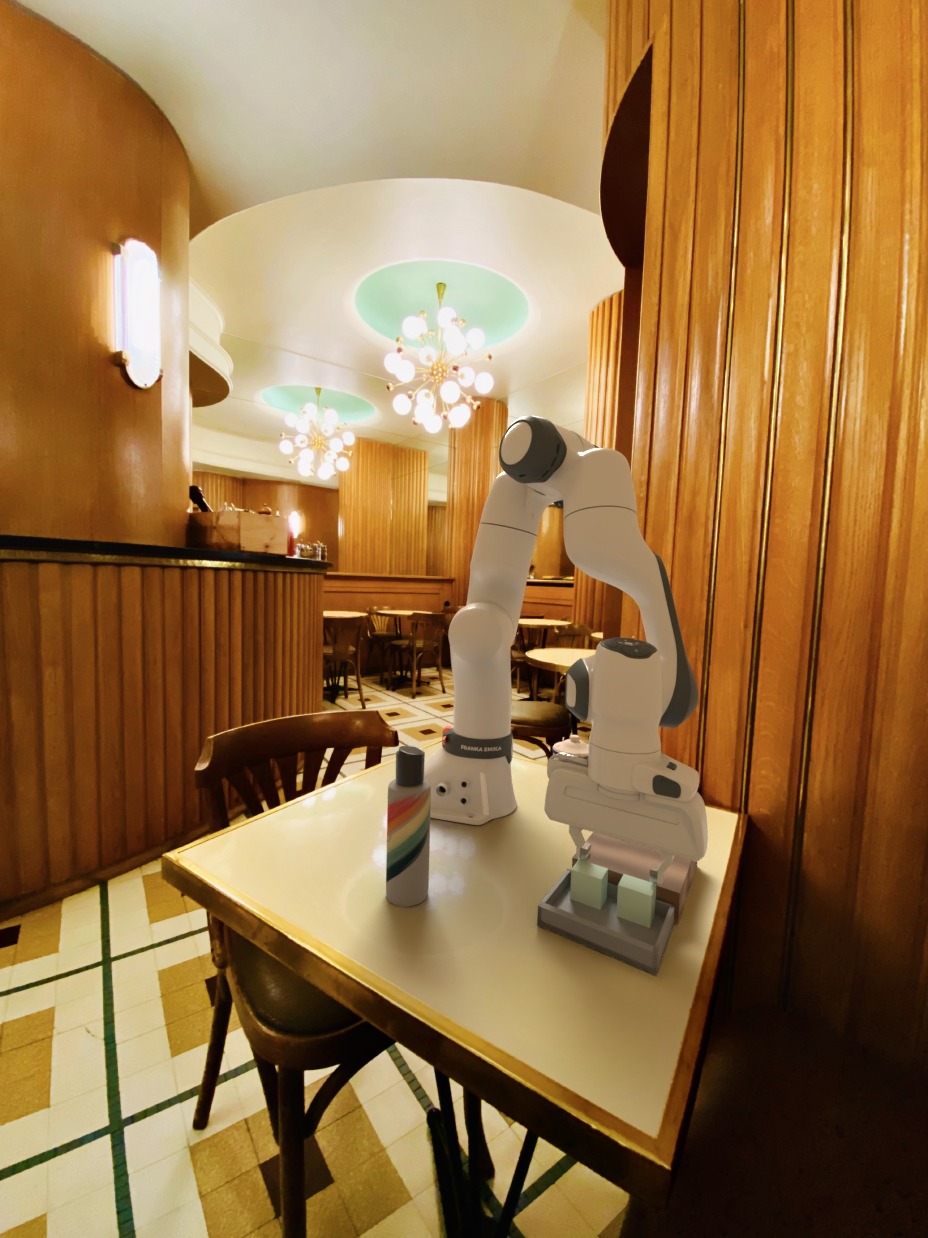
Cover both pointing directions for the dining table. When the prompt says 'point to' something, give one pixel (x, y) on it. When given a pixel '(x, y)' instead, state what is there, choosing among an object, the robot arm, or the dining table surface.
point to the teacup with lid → (572, 747)
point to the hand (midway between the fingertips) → (618, 869)
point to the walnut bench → (642, 868)
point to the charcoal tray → (607, 926)
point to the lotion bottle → (408, 830)
